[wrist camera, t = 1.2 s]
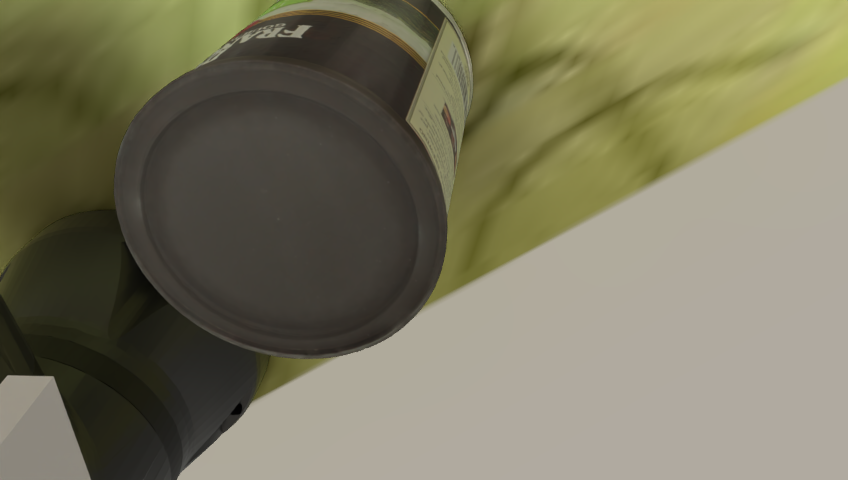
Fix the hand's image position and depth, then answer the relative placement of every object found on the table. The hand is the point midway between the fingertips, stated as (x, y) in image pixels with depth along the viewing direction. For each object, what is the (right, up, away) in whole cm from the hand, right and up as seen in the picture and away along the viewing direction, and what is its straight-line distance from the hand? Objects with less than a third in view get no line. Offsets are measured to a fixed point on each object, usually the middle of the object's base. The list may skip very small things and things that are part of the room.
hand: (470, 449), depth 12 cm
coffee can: (-4, +11, +23) cm, 26 cm away
